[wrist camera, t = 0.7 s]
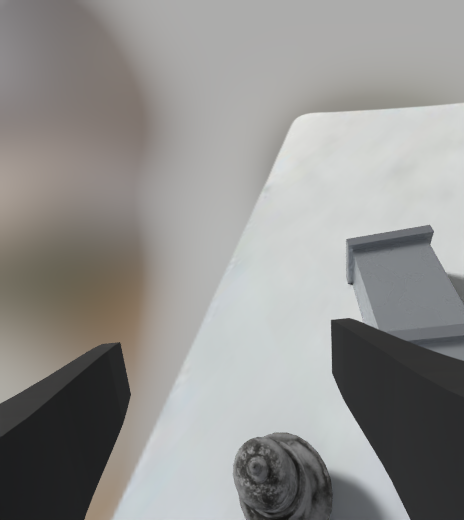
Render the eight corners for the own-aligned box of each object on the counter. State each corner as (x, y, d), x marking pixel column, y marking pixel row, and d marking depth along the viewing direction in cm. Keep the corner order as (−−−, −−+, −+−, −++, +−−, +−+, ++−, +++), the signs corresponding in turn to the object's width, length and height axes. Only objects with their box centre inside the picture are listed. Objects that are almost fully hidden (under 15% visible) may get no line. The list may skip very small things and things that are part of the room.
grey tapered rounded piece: (320, 437, 23) (305, 383, 14) (346, 542, 19) (345, 556, 10) (246, 448, 24) (189, 404, 15) (255, 550, 20) (186, 570, 11)
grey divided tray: (593, 619, 15) (688, 656, 11) (428, 606, 17) (455, 634, 12) (418, 267, 30) (430, 224, 26) (340, 278, 32) (339, 240, 27)
